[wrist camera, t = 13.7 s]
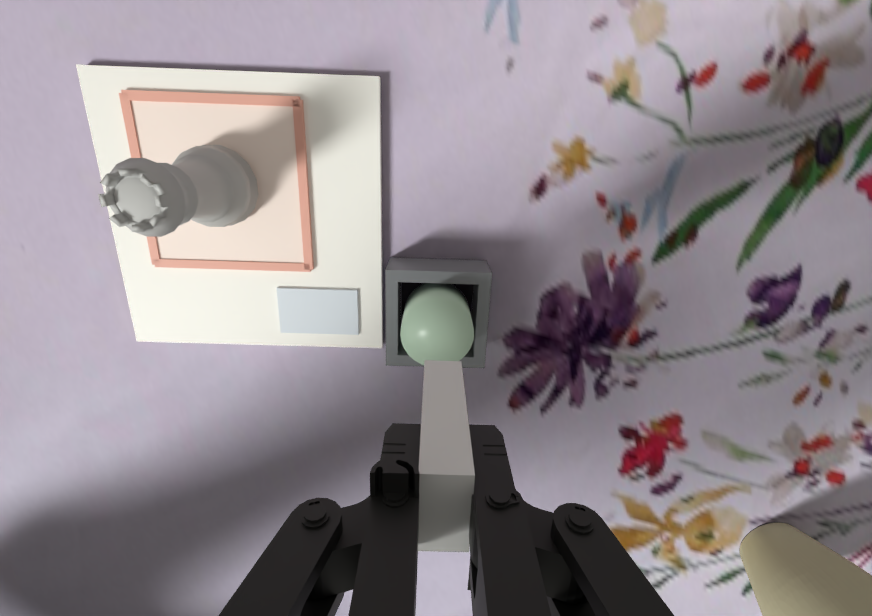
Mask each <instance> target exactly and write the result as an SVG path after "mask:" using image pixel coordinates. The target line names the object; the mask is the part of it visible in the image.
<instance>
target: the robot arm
mask: <svg viewBox="0 0 872 616" xmlns="http://www.w3.org/2000/svg"><path fill="white" fill-rule="evenodd" d="M469 544H470V555H471V556H470V568H469V581H468V590H471V598H472V611H473V616H674V615H673V613H672V612H671V611H670V609H669V608H668V607H667V605H666V604H665V603H664V601H663V600H662V599H661V597H660V596H659V595H658V593H657V592H656V591H655V589H654V588H653V587H652V585H651V584H650V583H649V581H648V580H647V579H646V577H645V576H644V574H643V573H642V572H641V570H640V569H639V568H638V566H637V565H636V564H635V562H634V561H633V560H632V558H631V557H630V556H629V554H628V553H627V552H626V550H625V549H624V548H623V546H622V545H621V544H620V542H619V541H618V540H617V538H616V537H615V535H614V534H613V533H612V531H611V530H610V529H609V527H608V526H607V525H606V523H605V522H604V521H603V519H602V518H601V517H600V516H599V515H598V514H597V513H596V512H595V511H593V510H592V509H590V508H588V507H586V506H584V505H580V504H576V503H566V504H563V505H560V506H558V508H557V509H556V510H555V511H554V513H552V512H548V511H545V510H541V509H538V508H536V507H533V506H531V505H530V504H528V503H526V502H525V501H524V500H523V499H522V497H521V495H520V493H519V492H517V491H516V489H515V486H514V482H513V478H512V473H511V469H510V465H509V460H508V456H507V452H506V447H505V443H504V439H503V435H502V434H501V432H500V431H499V430H498V429H497V428H496V427H495V425H469V421H468V413H467V405H466V396H465V388H464V379H463V371H462V363H461V361H436V360H424V378H423V397H422V416H421V424H392V425H391V426H390V428H389V429H388V430H387V431H386V432H385V437H384V442H383V448H382V454H381V459H380V461H378V462H377V463H376V464H375V465H374V466H373V467H372V469H371V471H370V496H369V497H368V498H366V499H365V500H363V501H362V502H360V503H358V504H355V505H352V506H347V507H343V508H340V506H339V505H338V504H337V503H336V502H335V501H333V500H330V499H328V498H315V499H311V500H307V501H305V502H304V503H302V504H300V505H299V506H298V507H297V508H296V509H295V510H294V511H293V512H292V513H291V514H290V516H289V517H288V519H287V520H286V521H285V523H284V524H283V526H282V527H281V528H280V530H279V531H278V533H277V534H276V535H275V537H274V538H273V540H272V541H271V542H270V544H269V545H268V547H267V548H266V550H265V551H264V552H263V554H262V555H261V557H260V558H259V559H258V561H257V562H256V564H255V565H254V566H253V568H252V569H251V571H250V572H249V573H248V575H247V576H246V578H245V579H244V581H243V582H242V583H241V585H240V586H239V588H238V589H237V590H236V592H235V593H234V595H233V596H232V597H231V599H230V600H229V602H228V603H227V604H226V606H225V607H224V609H223V610H222V612H221V613H220V614H219V616H335V614H336V612H337V609H338V607H339V605H340V603H341V601H342V599H343V596H344V592H346V591H349V590H352V589H353V595H352V600H351V606H350V611H349V616H415V609H416V585H417V555H418V551H438V552H469Z"/></svg>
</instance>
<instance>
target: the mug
mask: <svg viewBox="0 0 872 616" xmlns="http://www.w3.org/2000/svg"><path fill="white" fill-rule="evenodd" d="M740 556H741V559H742V561H743V564H744V567H745V569H746V572H747V575H748V578H749V580H750V583H751V586H752V588H753V591H754V594H755V596H756V599H757V602H758V605H759V607H760V610H761V612H762V615H763V616H872V575H870V574H869V573H867V572H866V571H864V570H863V569H861V568H860V567H858V566H857V565H855V564H854V563H852V562H851V561H849V560H847V559H846V558H844V557H842V556H841V555H839V554H837V553H836V552H834V551H833V550H831V549H829V548H828V547H826V546H824V545H823V544H821V543H819V542H818V541H816V540H815V539H813V538H811V537H810V536H808V535H806V534H805V533H803V532H801V531H800V530H798V529H797V528H795V527H793V526H791V525H789V524H786V523H769V524H765V525H762V526H760V527H758V528H756V529H754V530H752V531H751V532H750V533H749V534H748V535H747V536H746V537H745V538H744V539H743V541H742V543H741V545H740Z"/></svg>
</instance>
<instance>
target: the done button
mask: <svg viewBox="0 0 872 616" xmlns="http://www.w3.org/2000/svg"><path fill="white" fill-rule="evenodd" d="M400 336H401V342H402V345H403V347H404V349H405V351H406V352H407V354H408V355H409V356H410V357H411V358H412V359H413V360H415V361H416V362H418V363H420V364H422V365H424V360H436V361H460V360H461V359H462V358H463V357H464V356H465V355H466V354H467V353H468V351H469V350H470V348H471V346H472V343H473V340H474V327H473V323H472V318H471V314H470V310H469V305H468V302H467V299H466V297H465V296H464V294H463V293H462V292H461V291H460V290H459V289H458V288H457V287H455V286H454V285H452V284H445V283H424V284H422V285H420V286H418V287H417V288H416V289H414V290H413V291H412V292H411V294H410V295H409V297H408V298H407V301H406V304H405V308H404V314H403V319H402V325H401V332H400Z"/></svg>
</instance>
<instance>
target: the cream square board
mask: <svg viewBox="0 0 872 616" xmlns="http://www.w3.org/2000/svg"><path fill="white" fill-rule="evenodd" d="M76 67H77V72H78V76H79V81H80V85H81V90H82V94H83V99H84V103H85V108H86V112H87V117H88V122H89V126H90V131H91V135H92V140H93V144H94V149H95V153H96V158H97V162H98V167H99V172H100V176H101V181H102V179H103V178H104V177H105V175H106V174H107V173H110V172H111V171H112V169H113V168H114V167H115V165H116V164H118V163H120V162H122V161H124V160H126V159H128V158H146V159H149V160H151V161H154V162H156V163H168V164H171V165H172V163H173V162H174V161H175V160H176V158H177V157H178V156H179V154H181V153H182V152H184V151H186V150H188V149H190V148H192V147H195V146H202V145H222V146H224V147H226V148H229V149H231V150H233V151H236V152H237V153H238V154H239V155H240V156H241V157H242V158H243V159H244V160H245V161H246V162H248V163H249V165H250V167H251V169H252V171H253V173H254V175H255V177H256V179H257V187H258V198H257V202H256V205H255V209H254V210H253V211H252V213H251V214H250V215H249V216H248V217H247V218H246V219H245V220H244V221H241V222H239V223H237V224H234V225H232V226H226V227H209V226H205V225H202V224H200V223H197V222H195V221H192V220H191V219H190V221H189V222H186V223H184V224H182V225H179V226H178V227H177V228H176V230H175V231H173V232H171V233H169V234H167V235H164V236H162V237H147V236H144V235H141V234H139V233H136V232H132V231H131V230H130V229H129V228H128V227H126V226H123V227H119V226H117V225H116V224H115V223H114V222H113V221H111V220H110V221H111V226H112V231H113V235H114V240H115V244H116V249H117V253H118V258H119V262H120V267H121V271H122V276H123V280H124V285H125V290H126V294H127V299H128V303H129V308H130V312H131V317H132V321H133V326H134V330H135V335H136V340H137V341H140V342H176V343H211V344H247V345H283V346H319V347H355V348H382V347H383V276H382V163H381V78H380V76H358V75H332V74H306V73H280V72H254V71H228V70H202V69H176V68H150V67H124V66H97V65H76ZM102 185H103V184H102ZM103 190H104V194H105V193H106V186H105V185H103ZM107 208H108V212H109V217H111V216H113V215H114V212H113V211H112V209H111V208H110V206H107Z"/></svg>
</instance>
